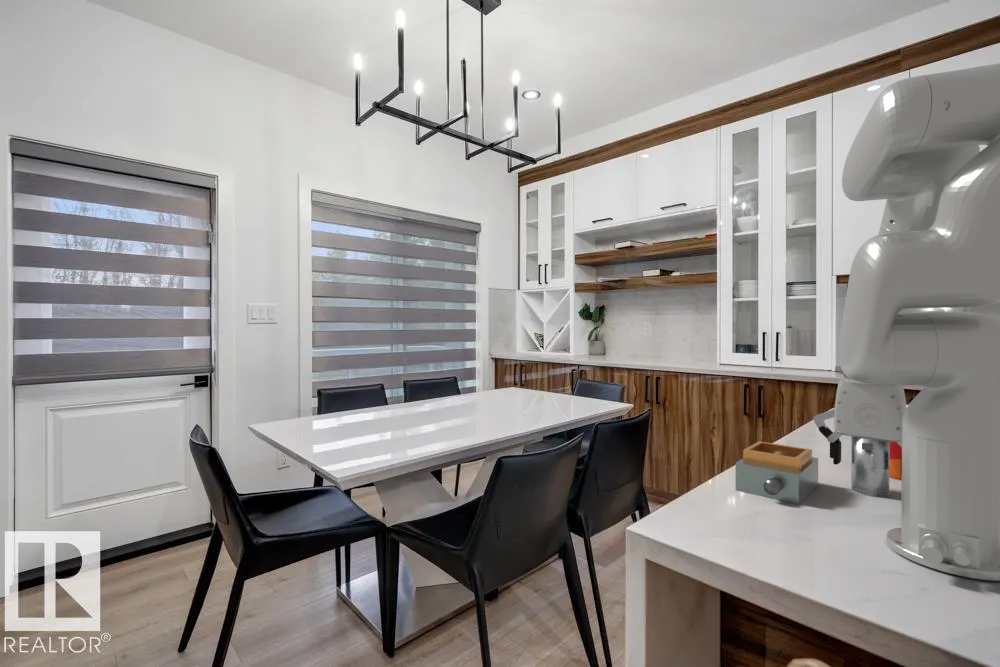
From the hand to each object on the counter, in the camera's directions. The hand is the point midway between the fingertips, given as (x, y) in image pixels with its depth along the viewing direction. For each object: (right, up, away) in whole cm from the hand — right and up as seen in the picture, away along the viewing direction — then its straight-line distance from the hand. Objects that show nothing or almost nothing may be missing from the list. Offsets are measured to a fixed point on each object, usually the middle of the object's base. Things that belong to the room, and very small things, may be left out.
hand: (869, 468), depth 85 cm
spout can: (0, -4, 0) cm, 4 cm away
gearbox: (-16, -4, +2) cm, 17 cm away
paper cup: (+13, -4, +8) cm, 16 cm away
